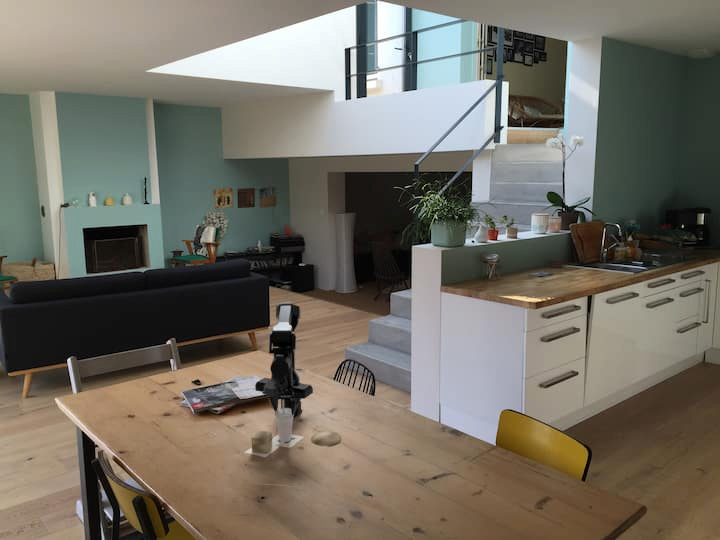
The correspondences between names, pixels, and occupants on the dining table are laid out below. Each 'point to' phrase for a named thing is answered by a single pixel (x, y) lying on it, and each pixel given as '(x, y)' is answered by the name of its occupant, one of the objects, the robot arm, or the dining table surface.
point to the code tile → (286, 444)
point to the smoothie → (284, 423)
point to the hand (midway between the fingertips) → (284, 412)
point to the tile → (263, 453)
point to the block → (261, 442)
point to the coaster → (326, 438)
